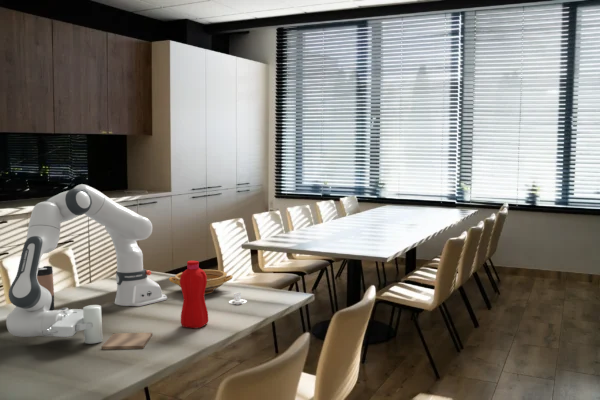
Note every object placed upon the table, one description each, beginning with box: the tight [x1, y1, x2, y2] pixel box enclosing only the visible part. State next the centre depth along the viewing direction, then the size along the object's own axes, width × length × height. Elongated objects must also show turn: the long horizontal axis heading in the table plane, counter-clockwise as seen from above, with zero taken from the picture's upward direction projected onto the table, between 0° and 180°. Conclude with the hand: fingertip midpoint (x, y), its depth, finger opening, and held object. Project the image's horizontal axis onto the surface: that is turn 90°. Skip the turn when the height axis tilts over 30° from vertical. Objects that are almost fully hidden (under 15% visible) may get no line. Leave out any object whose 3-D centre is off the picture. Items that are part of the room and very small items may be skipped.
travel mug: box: [37, 265, 55, 311], centre depth 240 cm, size 8×8×20 cm
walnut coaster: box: [101, 332, 153, 350], centre depth 208 cm, size 14×14×1 cm
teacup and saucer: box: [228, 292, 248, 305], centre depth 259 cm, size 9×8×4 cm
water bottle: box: [179, 260, 209, 329], centre depth 226 cm, size 9×11×25 cm
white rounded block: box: [82, 304, 104, 345], centre depth 207 cm, size 6×6×12 cm
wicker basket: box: [168, 269, 233, 295], centre depth 278 cm, size 30×24×8 cm
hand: (95, 322), depth 207 cm, fingers closed on white rounded block, 6 cm apart
